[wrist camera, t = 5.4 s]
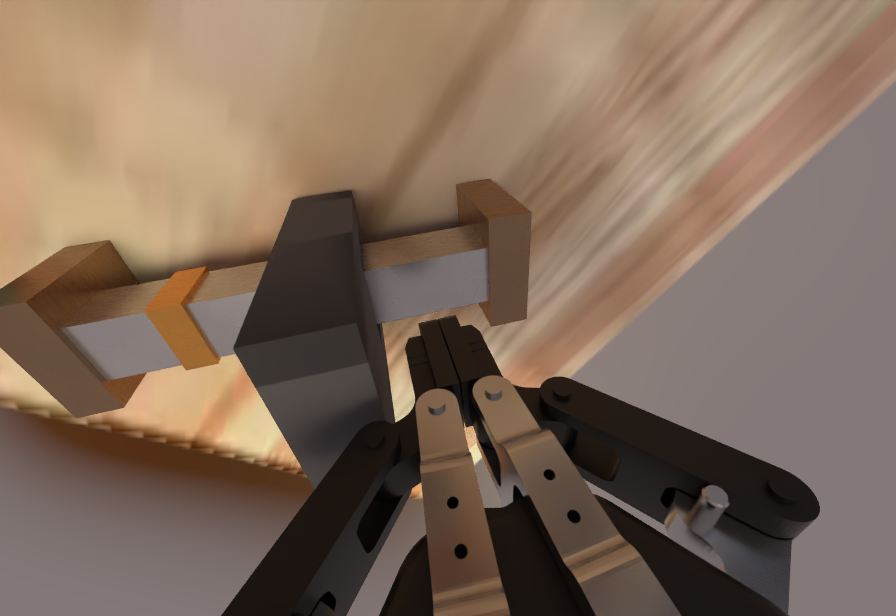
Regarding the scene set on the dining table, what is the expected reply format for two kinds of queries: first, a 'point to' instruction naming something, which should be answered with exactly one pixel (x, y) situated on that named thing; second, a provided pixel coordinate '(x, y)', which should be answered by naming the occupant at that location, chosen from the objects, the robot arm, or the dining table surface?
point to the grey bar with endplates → (240, 301)
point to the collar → (317, 335)
